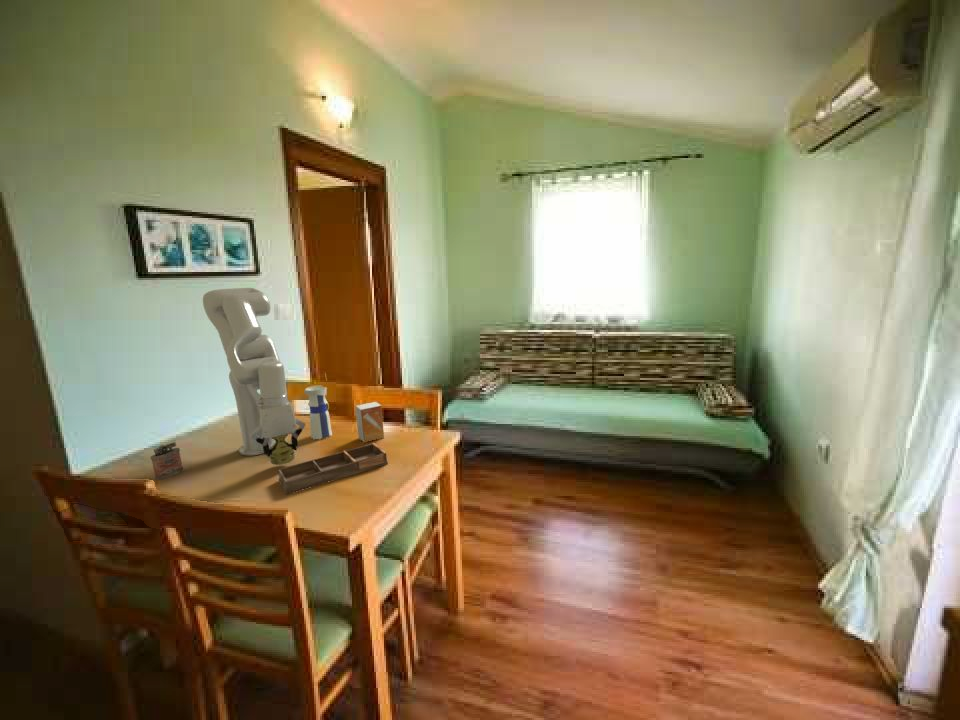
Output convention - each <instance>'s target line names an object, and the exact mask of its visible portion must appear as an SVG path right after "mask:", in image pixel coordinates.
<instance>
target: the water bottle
mask: <svg viewBox="0 0 960 720" xmlns="http://www.w3.org/2000/svg"><path fill="white" fill-rule="evenodd" d="M324 377H325V381H326V382H327V381H328V378H327V373H324ZM327 390H328V388H327V387H324V386H323V385H321V384H320V385H311V386H308V387H306V388H305V389H304V395H307V396H308V404H307V406H308V407H309V426H310V438H311V439H312V438H314V439H313V440H315V439H319V440H322V439H321V438H325V439H327V438H326V437H328V438H330V437H331V436H332V435H333V432H332V425H331V418H330V413H329V409H330V405H329V403H328V401H327V399H326V396H327ZM330 435H331V436H330ZM329 436H330V437H329Z"/></svg>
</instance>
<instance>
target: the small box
mask: <svg viewBox="0 0 960 720" xmlns="http://www.w3.org/2000/svg"><path fill="white" fill-rule="evenodd" d="M355 416H356V426H357V436H358V439H359V440H360V439H361V440H362V441H363V442H362V441H361V440H360V441H361V442H362V443H364V444H365V443H369V442H371V441H372V440H373V441H377V440H381V438H382V439H384V438H385V432H384V422H383V421H384V420H383V419H384V418H383V409H382V405H381V404H380V403H378V402H377V401H373V402H368V403H363V404H359V405H355ZM376 439H377V440H376ZM368 441H369V442H368Z"/></svg>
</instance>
